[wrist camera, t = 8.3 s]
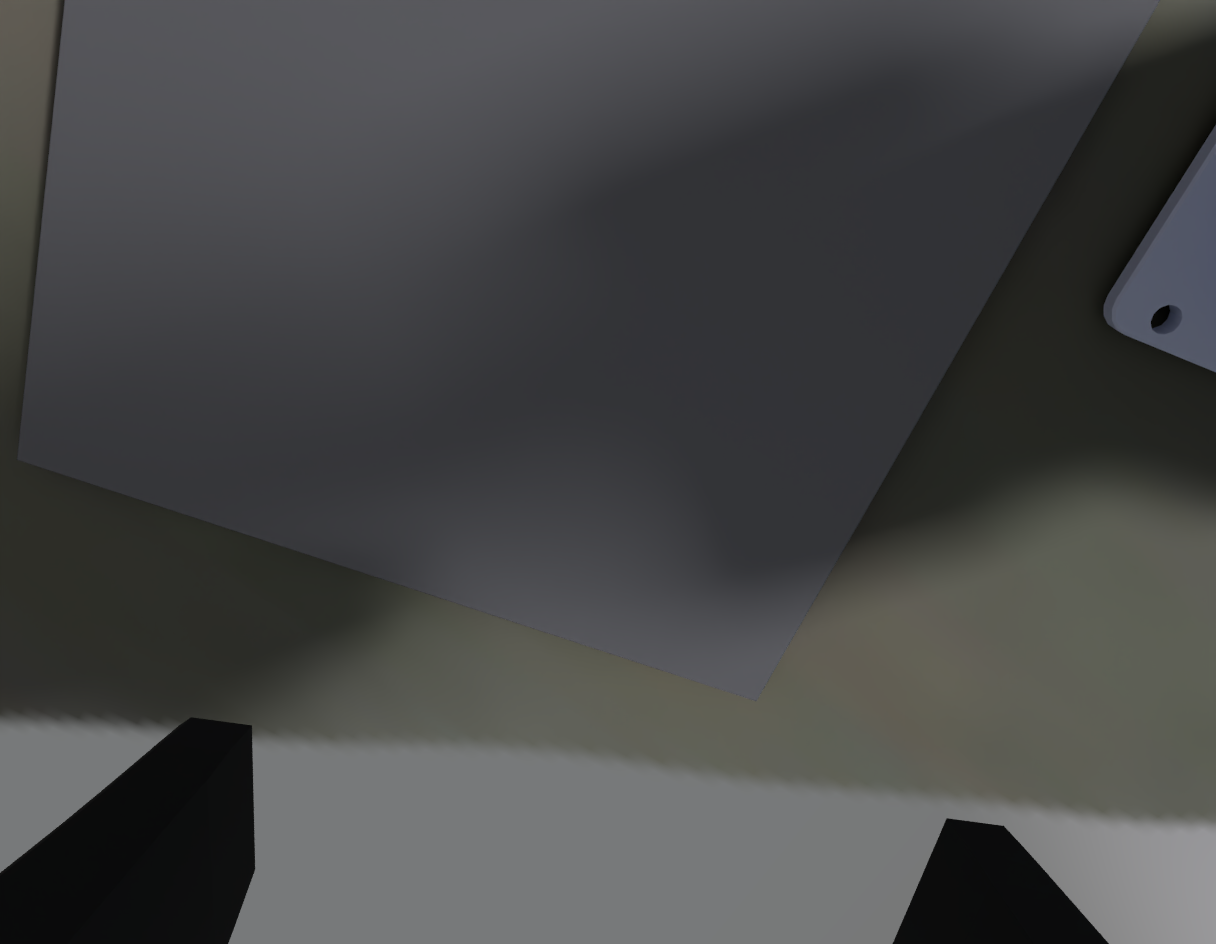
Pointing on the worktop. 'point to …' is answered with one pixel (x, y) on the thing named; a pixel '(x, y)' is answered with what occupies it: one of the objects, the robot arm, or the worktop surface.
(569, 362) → the mat
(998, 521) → the worktop surface
